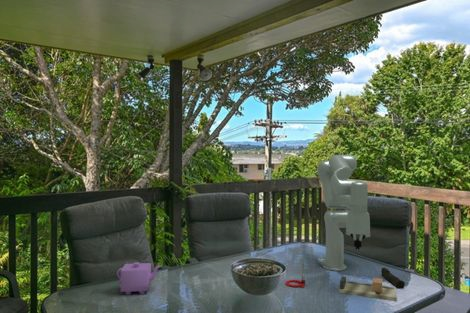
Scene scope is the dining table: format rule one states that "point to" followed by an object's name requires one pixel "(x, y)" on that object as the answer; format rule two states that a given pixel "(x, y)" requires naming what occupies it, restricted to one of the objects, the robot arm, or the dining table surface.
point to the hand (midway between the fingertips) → (357, 248)
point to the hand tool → (392, 278)
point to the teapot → (136, 277)
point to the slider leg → (377, 285)
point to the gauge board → (366, 290)
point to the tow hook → (302, 282)
